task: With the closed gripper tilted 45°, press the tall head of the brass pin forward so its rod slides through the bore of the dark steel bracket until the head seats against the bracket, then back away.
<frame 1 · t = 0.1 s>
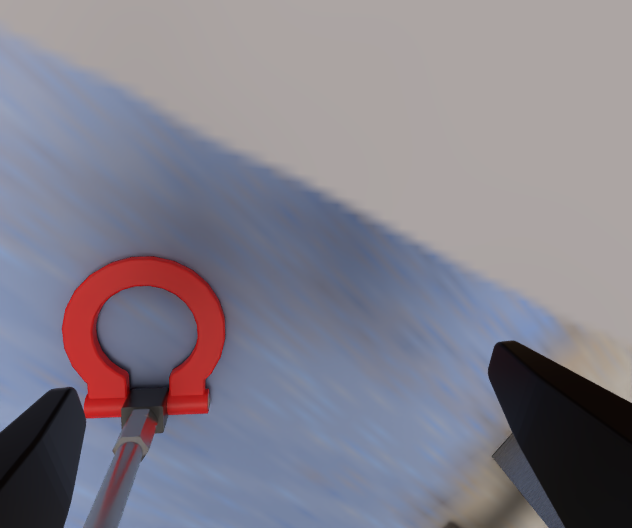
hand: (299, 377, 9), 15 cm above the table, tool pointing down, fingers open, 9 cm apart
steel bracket: (517, 492, 32), on the table
tow hook: (150, 333, 25), on the table
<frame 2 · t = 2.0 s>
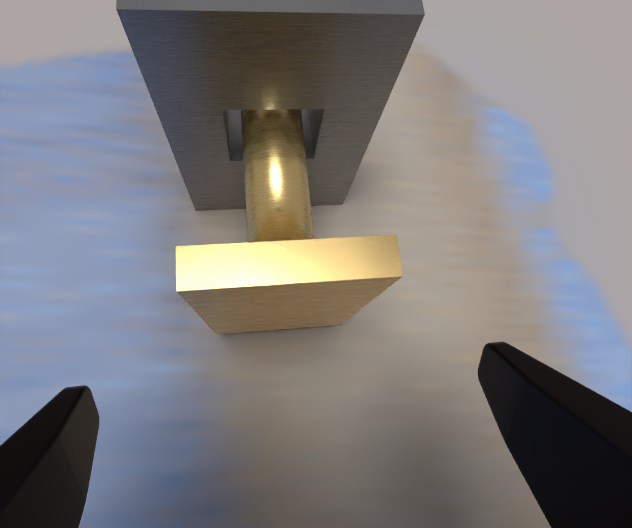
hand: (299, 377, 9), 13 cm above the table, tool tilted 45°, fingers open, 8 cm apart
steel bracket: (272, 227, 23), on the table
brass pin: (275, 190, 18), point 6 cm above the table, slide at 0.0 cm
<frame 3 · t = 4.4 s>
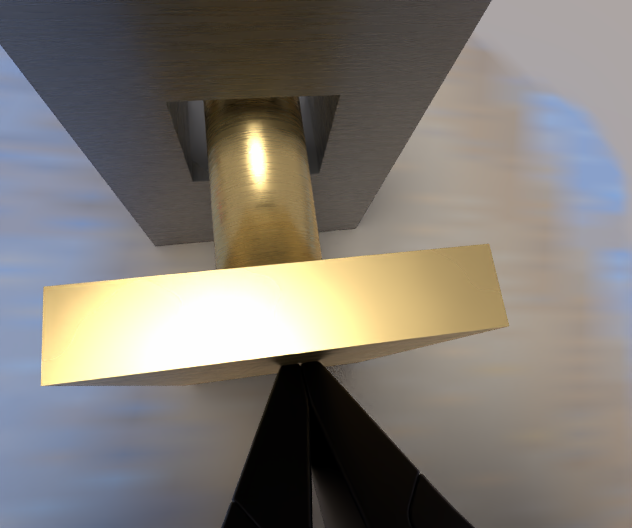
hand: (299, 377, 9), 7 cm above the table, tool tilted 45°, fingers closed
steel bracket: (261, 265, 17), on the table
brass pin: (258, 177, 12), point 6 cm above the table, slide at 1.4 cm, touching gripper
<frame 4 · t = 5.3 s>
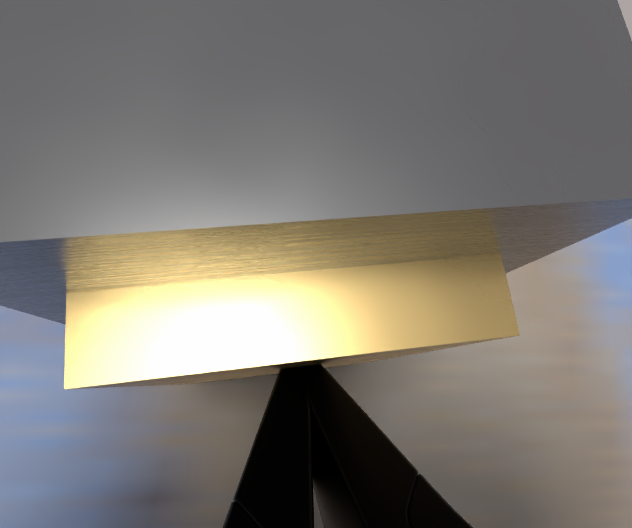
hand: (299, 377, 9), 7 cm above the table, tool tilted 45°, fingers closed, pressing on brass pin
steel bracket: (277, 373, 16), on the table
brass pin: (267, 179, 12), point 6 cm above the table, slide at 5.6 cm, touching gripper, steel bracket
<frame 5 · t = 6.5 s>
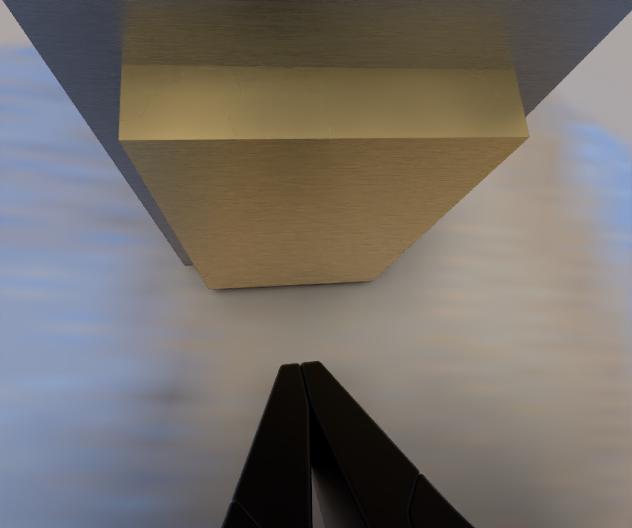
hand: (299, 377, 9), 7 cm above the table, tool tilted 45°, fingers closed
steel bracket: (291, 290, 17), on the table
brass pin: (292, 74, 12), point 6 cm above the table, slide at 5.6 cm, touching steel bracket
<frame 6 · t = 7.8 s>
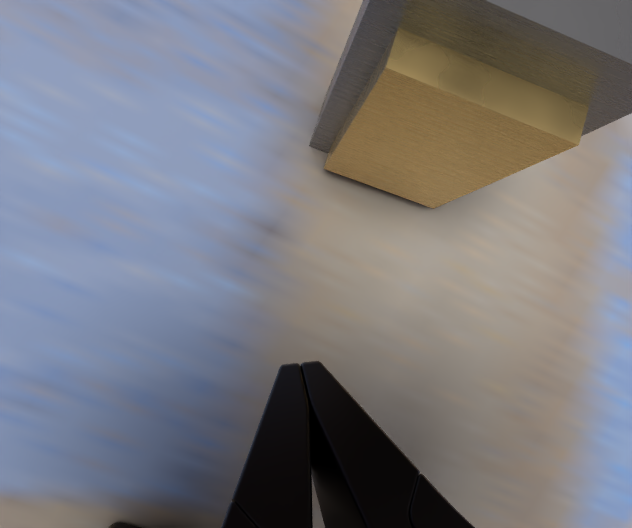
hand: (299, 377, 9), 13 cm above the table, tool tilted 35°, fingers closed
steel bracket: (373, 193, 23), on the table
brass pin: (451, 45, 18), point 6 cm above the table, slide at 5.6 cm, touching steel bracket
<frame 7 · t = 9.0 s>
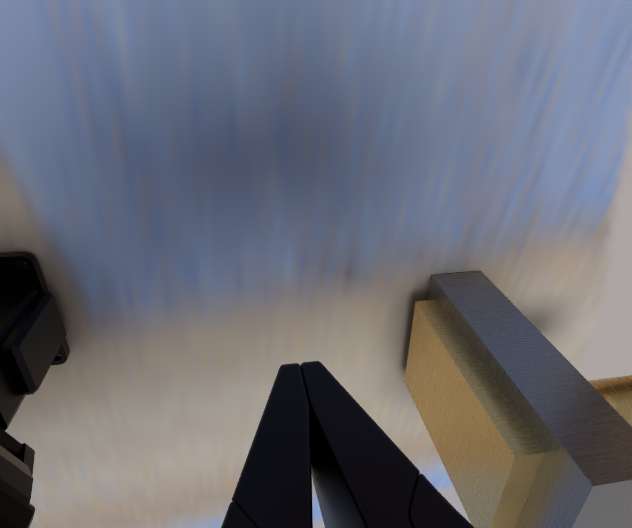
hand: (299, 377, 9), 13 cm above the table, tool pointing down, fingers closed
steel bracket: (403, 332, 27), on the table
brass pin: (537, 396, 22), point 6 cm above the table, slide at 5.6 cm, touching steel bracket
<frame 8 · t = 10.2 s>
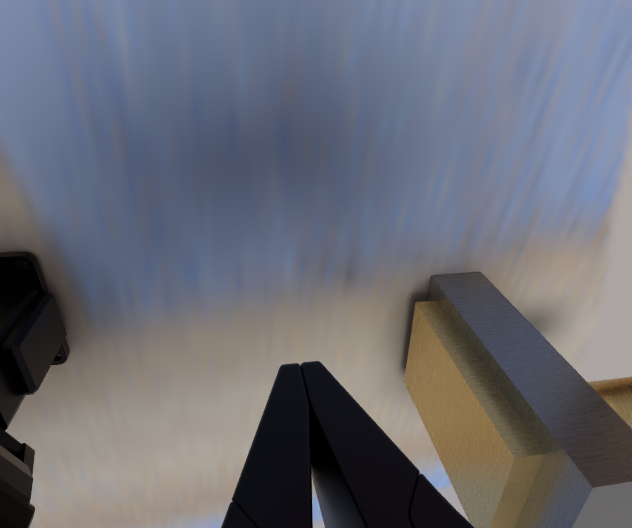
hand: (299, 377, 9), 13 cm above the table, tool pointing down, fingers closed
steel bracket: (403, 333, 27), on the table
brass pin: (537, 397, 22), point 6 cm above the table, slide at 5.6 cm, touching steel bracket
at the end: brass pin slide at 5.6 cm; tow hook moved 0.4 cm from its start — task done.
